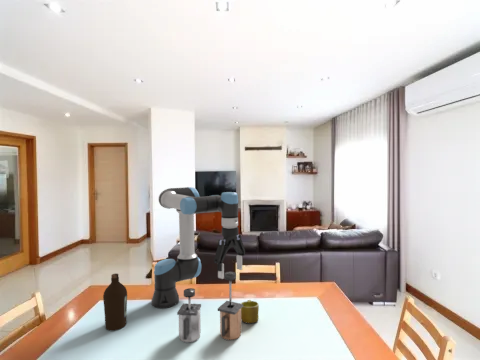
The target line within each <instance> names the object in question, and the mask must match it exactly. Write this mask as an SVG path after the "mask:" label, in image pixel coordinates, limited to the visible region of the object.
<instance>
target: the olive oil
mask: <svg viewBox="0 0 480 360" xmlns="http://www.w3.org/2000/svg"><path fill="white" fill-rule="evenodd" d="M110 280H111V281H110V284H109V285H108V286H107V287H106V288H105V290H104V292H103V296H102V297H103V298H102V300H103V311H104V312H103V313H104V325H105V326H104V327H105V329H106V330H107V331H119V330H121V329H123V328H125V326H127V318H128V317H127V312H128V311H127V310H128V309H127V306H128V289H127V288H126V286H125V285H124V284H123V283H121V282H120V277H119V273H112V274H111V277H110Z"/></svg>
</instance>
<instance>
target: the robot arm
mask: <svg viewBox="0 0 480 360" xmlns="http://www.w3.org/2000/svg"><path fill="white" fill-rule="evenodd" d="M238 196H239V195H238V193H237V192H234V191H233V192H232V191H226V192H225V191H224V192H221V194H220V195H219V194H212V195H209V196H208V195H207V196H206V195H205V196H200V194H199V192H198V190H197V189H196V188H195V187H192V186H191V187H189V186H187V187H172V188H171V187H170V188H166V189H164V190H163V191H161V192H160V194H159V195H158V203H159V205H160V207H162V208H163V209H168V210H169V209H175V210H176V212H177V213H178V218H179V219H178V225H179V229H178V230H179V231H178V232H179V254H178V255H177V257H176V258H177V260H175V259H174V258H165V259H163V260H159V261H158V262H156V263H155V264H154V270H153V275H154V276H153V277H154V282H153V283H154V291H153V294H152V298H151V306H152V307H153V308H157V309H168V308H171V307H172V308H173V307H174V306H176V305H178V304H179V303H180V296H179V293H178V290H177V288H176V287H177V283H178V282H182V281H186V280H190V279H191V280H192V279H194V278H197V277H199V275H201V272H202V263H201V259H200V257H198V254H197V253H196V251H195V215H196V214H203V213H204V214H205V213H215V212H216V213H217V212H219V213H221V236H223V238H222V239H218V243H217V245H218V246H217V248H216V252H215V255H214V257H213V263H214V264H216V265H217V268H216V269H217V278H218V279H221V280H223V279H225V264H224V263H223V262H224V260H225V259H226V255H227V254H228V251H230V249H231V248H233V249H234V250H235V253H236V254H237V255H236V270H240V271H242V270H243V257H244V256H245V253H246V249H245V246H244V243H243V240H242V235H241V234H239V227H238V226H239V197H238Z"/></svg>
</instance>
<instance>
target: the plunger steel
mask: <svg viewBox="0 0 480 360" xmlns="http://www.w3.org/2000/svg"><path fill="white" fill-rule="evenodd" d="M195 295H196V289H195V288H193V287H192V288H191V287H190V288H186V289H184V290H183V297H184V298H187V299H188V303H187V304H188V310H191V304H192V303H191V298H193V297H195Z"/></svg>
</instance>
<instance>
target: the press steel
mask: <svg viewBox="0 0 480 360" xmlns="http://www.w3.org/2000/svg"><path fill="white" fill-rule="evenodd" d="M201 308H202V303H191V310H188V303H182V304H181V306H180V307H179V309H178V310H177V312H176V313H177V314H176V315H177V316H178V337H179V340H180V341H181V342H183V343H186V344H187V343H189V344H190V343H194V342H197V341H198V340H199V339H200V338H201V334H202V333H201V331H202V329H201V321H202V320H201Z"/></svg>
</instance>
